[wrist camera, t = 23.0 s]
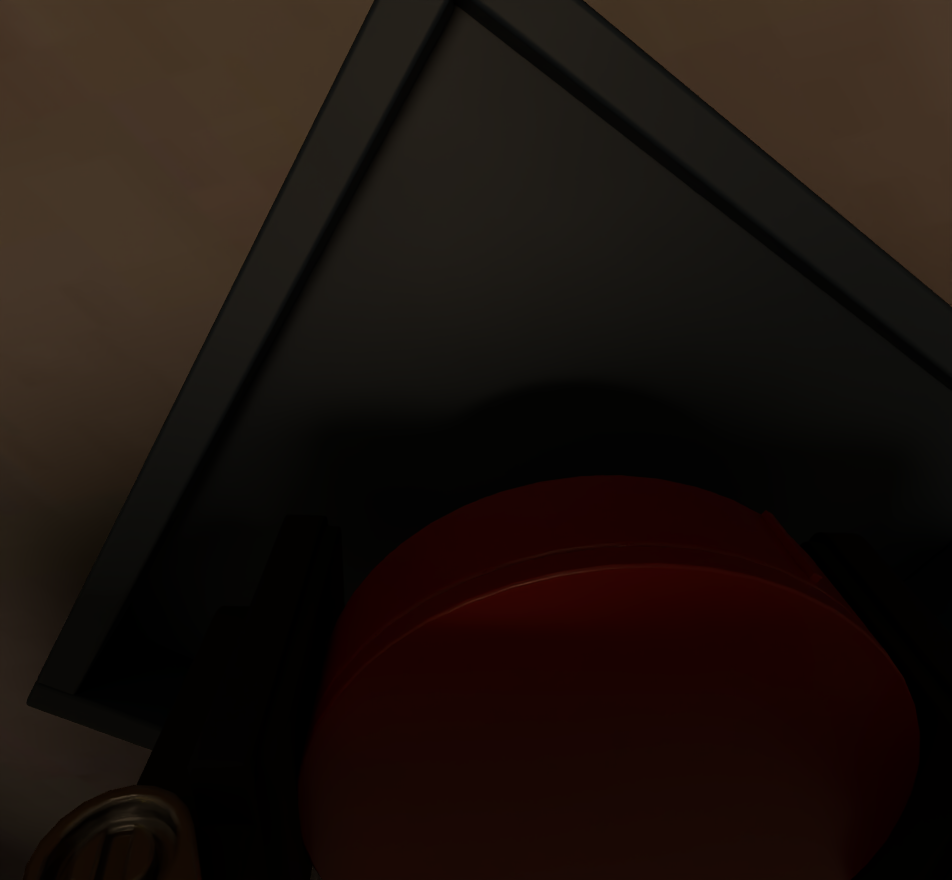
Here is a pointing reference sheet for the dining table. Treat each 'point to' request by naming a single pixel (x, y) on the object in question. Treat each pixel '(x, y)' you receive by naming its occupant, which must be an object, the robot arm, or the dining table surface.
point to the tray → (517, 338)
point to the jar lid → (603, 700)
